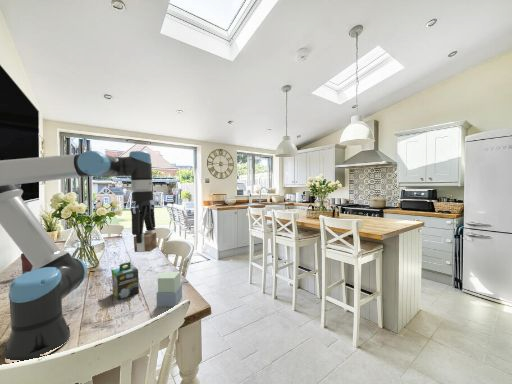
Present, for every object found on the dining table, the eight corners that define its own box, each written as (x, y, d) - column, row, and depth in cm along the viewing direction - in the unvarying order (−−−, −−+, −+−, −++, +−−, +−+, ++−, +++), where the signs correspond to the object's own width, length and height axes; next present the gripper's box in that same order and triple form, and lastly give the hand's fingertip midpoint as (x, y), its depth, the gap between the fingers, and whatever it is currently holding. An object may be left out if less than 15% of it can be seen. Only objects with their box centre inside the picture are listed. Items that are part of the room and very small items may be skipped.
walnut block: (149, 251, 88) (148, 236, 88) (134, 252, 88) (133, 236, 88) (157, 247, 94) (156, 232, 94) (142, 247, 94) (141, 233, 94)
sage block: (174, 292, 95) (174, 278, 95) (158, 292, 95) (157, 278, 95) (180, 284, 102) (180, 271, 102) (165, 284, 102) (164, 271, 102)
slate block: (175, 306, 95) (175, 292, 94) (156, 307, 95) (156, 292, 94) (182, 297, 103) (181, 284, 102) (164, 297, 103) (164, 284, 102)
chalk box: (133, 287, 113) (132, 257, 113) (139, 293, 107) (138, 262, 106) (111, 293, 107) (110, 262, 106) (117, 300, 100) (116, 267, 100)
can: (20, 277, 127) (18, 253, 127) (35, 273, 133) (33, 250, 132) (24, 279, 124) (23, 254, 124) (39, 275, 130) (38, 251, 129)
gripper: (138, 191, 80) (142, 255, 81) (162, 189, 99) (164, 242, 100) (117, 192, 81) (121, 256, 82) (145, 190, 100) (148, 242, 101)
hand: (145, 248), depth 91 cm, fingers closed on walnut block, 6 cm apart
